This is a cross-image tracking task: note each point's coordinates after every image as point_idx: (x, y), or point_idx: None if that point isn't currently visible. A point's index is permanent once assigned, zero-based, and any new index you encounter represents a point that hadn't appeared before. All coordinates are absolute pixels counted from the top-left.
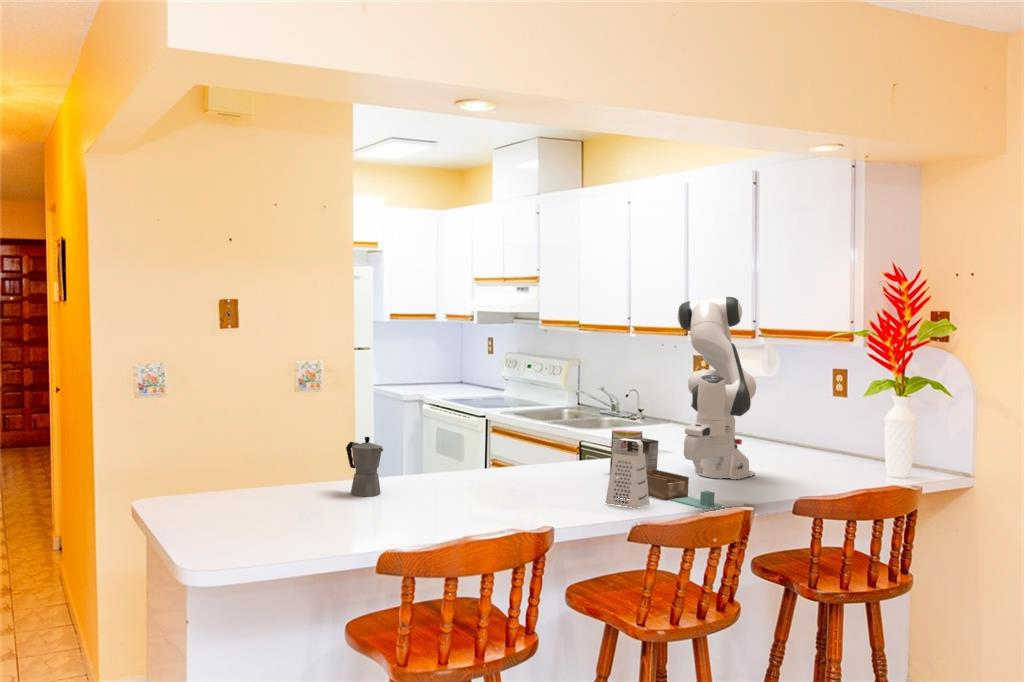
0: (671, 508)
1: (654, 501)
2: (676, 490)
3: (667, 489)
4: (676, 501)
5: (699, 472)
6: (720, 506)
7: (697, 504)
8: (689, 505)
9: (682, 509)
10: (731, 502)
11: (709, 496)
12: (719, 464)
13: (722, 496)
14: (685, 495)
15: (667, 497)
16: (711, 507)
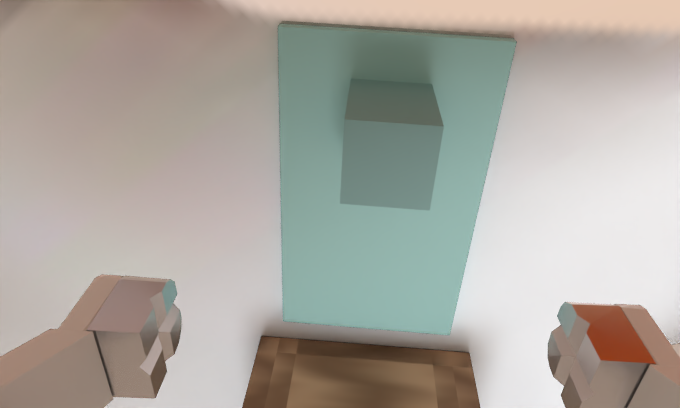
0: (673, 209)
1: (548, 362)
2: (365, 385)
3: (454, 406)
4: (455, 297)
5: (645, 316)
6: (324, 28)
7: (441, 166)
8: (477, 198)
9: (646, 150)
10: (93, 97)
11: (419, 111)
12: (101, 366)
13: (31, 243)
14: (282, 345)
15: (444, 361)
16: (443, 37)
